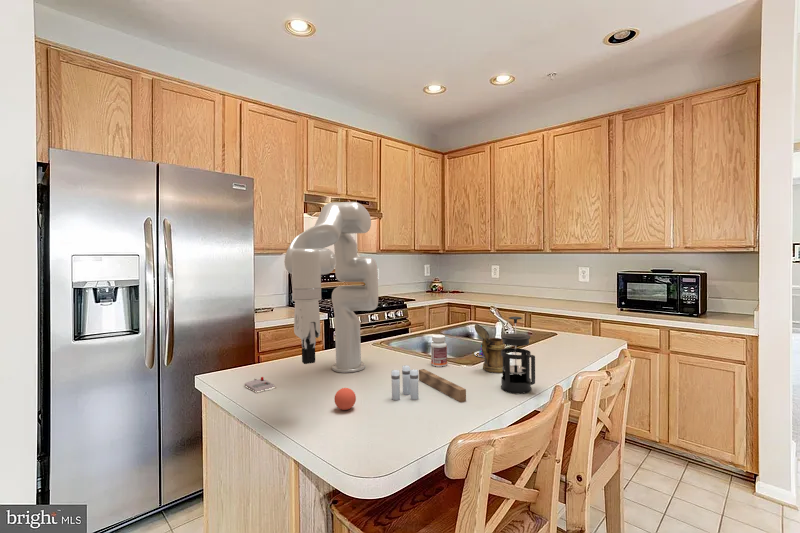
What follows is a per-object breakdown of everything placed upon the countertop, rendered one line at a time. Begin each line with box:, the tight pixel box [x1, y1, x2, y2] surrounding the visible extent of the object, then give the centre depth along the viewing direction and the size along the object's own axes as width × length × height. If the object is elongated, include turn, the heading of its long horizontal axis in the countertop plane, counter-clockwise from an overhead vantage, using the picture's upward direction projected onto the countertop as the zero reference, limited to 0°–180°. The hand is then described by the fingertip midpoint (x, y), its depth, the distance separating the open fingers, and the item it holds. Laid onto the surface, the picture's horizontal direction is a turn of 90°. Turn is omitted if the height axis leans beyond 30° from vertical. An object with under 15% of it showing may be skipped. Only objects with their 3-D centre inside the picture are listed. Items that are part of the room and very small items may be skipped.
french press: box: [500, 315, 536, 395], centre depth 128 cm, size 12×9×23 cm
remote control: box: [244, 376, 276, 392], centre depth 136 cm, size 7×16×3 cm, turn 43°
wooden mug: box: [474, 323, 506, 374], centre depth 149 cm, size 9×14×18 cm, turn 121°
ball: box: [333, 387, 357, 411], centre depth 115 cm, size 6×6×6 cm
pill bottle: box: [430, 334, 448, 368], centre depth 157 cm, size 6×6×11 cm
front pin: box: [390, 369, 401, 401], centre depth 122 cm, size 2×2×8 cm
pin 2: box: [409, 368, 419, 401], centre depth 122 cm, size 2×2×8 cm
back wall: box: [418, 368, 467, 403], centre depth 129 cm, size 24×2×4 cm, turn 27°
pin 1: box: [401, 364, 411, 396], centre depth 126 cm, size 2×2×8 cm
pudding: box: [473, 343, 484, 358], centre depth 171 cm, size 12×12×5 cm
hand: (308, 362), depth 109 cm, fingers closed
